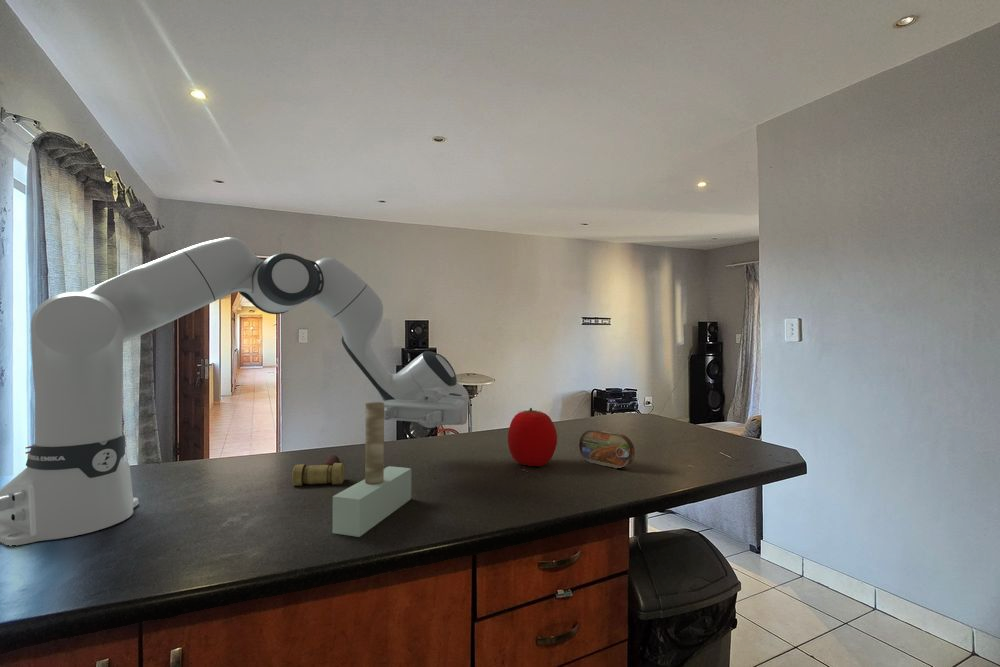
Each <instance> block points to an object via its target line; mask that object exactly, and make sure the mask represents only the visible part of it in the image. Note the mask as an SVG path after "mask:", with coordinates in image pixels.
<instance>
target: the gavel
mask: <svg viewBox="0 0 1000 667" xmlns="http://www.w3.org/2000/svg"><path fill="white" fill-rule="evenodd" d="M339 461H340V458H339V456H337V455H335V454H333V455H330V456H329V457H328V458H327V459H326V460H325V461H323V463H321V464H315V465H313V464H311V465H307V464H305V463H302V464H301V463H299V464H295V465H294V466H293V468H292V473H291V483H292V485H293V487H303V486H304V485H308V484H309V485H326V484H327V485H328V484H331V485H342V484H343V482H344V480H345V474H346V473H345V469H346V468H345V464H344V463H343V462H339ZM303 484H304V485H303ZM302 485H303V486H302Z"/></svg>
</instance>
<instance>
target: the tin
mask: <svg viewBox="0 0 1000 667" xmlns="http://www.w3.org/2000/svg"><path fill="white" fill-rule="evenodd" d="M578 446H579V452H580V454H581V455H580V456H582V458H583V459H584V458H587V459H591V460H596V461H600V462H605V463H610V464H614V465H618V466H622V467H625V468H627V467H630V466H631V464H633V461H634V459H635V456H636V455H635V453H636V451H635V446H634V443H633V442H632V440H631V439H630V438H629V437H628V436H627V435H624V434H622V433H616V432H609V431H604V430H598V429H589V430H586V431H584V432H583V433H582V434H581V436H580V438H579V443H578ZM626 466H627V467H626Z"/></svg>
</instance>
